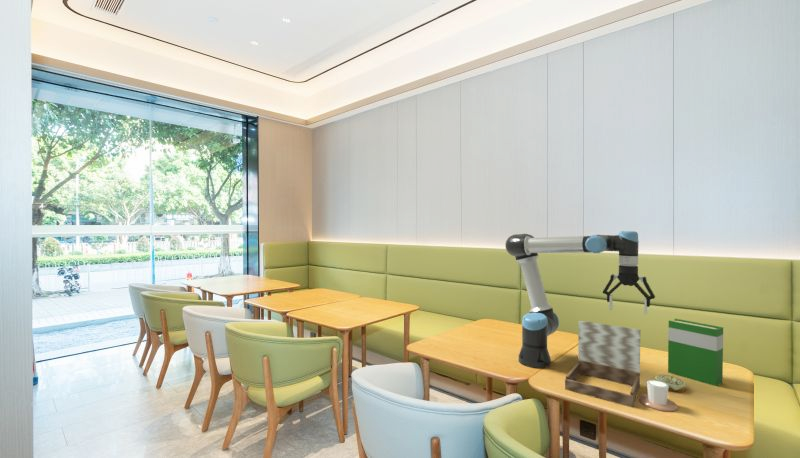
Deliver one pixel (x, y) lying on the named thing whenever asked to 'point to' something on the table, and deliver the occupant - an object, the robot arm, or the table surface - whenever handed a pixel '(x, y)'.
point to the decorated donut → (672, 383)
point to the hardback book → (696, 351)
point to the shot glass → (657, 392)
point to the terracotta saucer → (668, 407)
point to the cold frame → (607, 361)
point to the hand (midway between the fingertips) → (627, 311)
